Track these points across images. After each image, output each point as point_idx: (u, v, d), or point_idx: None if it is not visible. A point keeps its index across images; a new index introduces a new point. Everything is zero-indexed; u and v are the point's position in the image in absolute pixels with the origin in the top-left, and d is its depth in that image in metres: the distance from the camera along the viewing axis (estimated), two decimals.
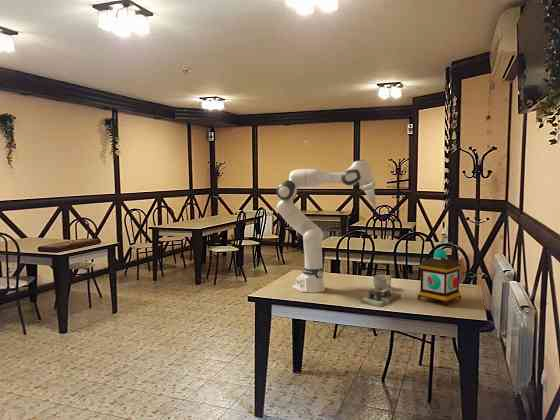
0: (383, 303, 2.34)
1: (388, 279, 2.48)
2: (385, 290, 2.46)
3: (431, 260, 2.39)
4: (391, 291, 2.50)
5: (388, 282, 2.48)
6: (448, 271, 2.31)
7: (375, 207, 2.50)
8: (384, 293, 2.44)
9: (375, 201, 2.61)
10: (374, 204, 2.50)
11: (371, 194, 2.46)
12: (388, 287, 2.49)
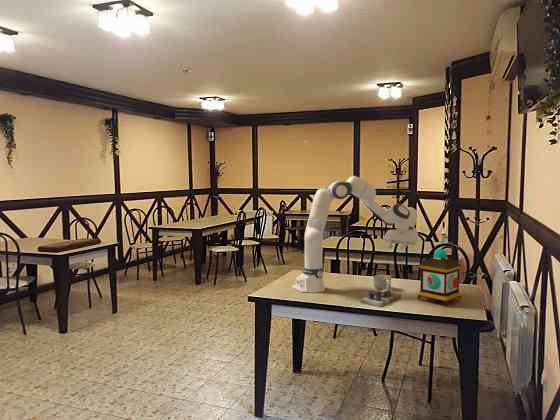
0: (383, 303, 2.34)
1: (388, 279, 2.48)
2: (385, 290, 2.46)
3: (431, 260, 2.39)
4: (391, 291, 2.50)
5: (388, 282, 2.48)
6: (448, 271, 2.31)
7: (403, 248, 2.54)
8: (384, 293, 2.44)
9: None
10: (404, 246, 2.54)
11: (416, 239, 2.54)
12: (388, 287, 2.49)
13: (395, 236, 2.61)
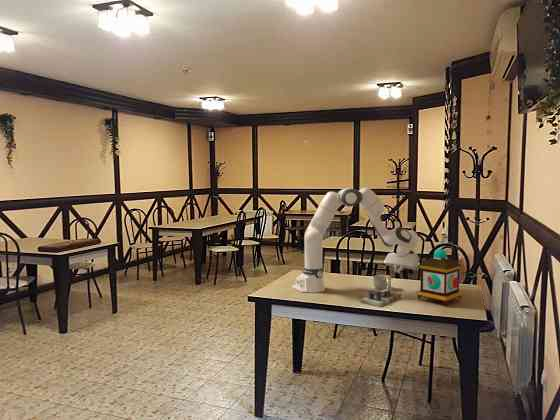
0: (383, 303, 2.34)
1: (388, 279, 2.48)
2: (385, 290, 2.46)
3: (431, 260, 2.39)
4: (391, 291, 2.50)
5: (388, 282, 2.48)
6: (448, 271, 2.31)
7: (398, 272, 2.55)
8: (384, 293, 2.44)
9: None
10: (400, 269, 2.56)
11: (416, 263, 2.54)
12: (388, 287, 2.49)
13: (396, 260, 2.60)
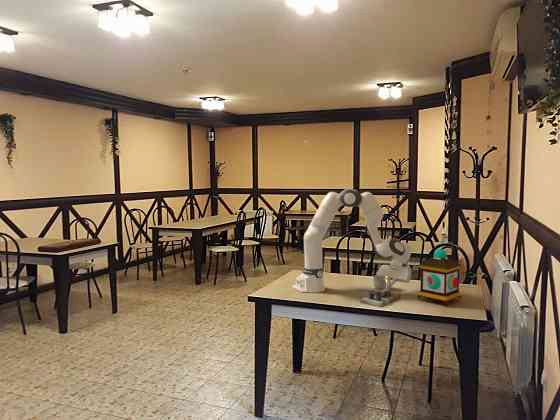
0: (383, 303, 2.34)
1: (387, 279, 2.47)
2: (384, 290, 2.46)
3: (431, 260, 2.39)
4: (390, 291, 2.49)
5: (387, 282, 2.48)
6: (448, 271, 2.31)
7: (391, 285, 2.50)
8: (383, 293, 2.43)
9: None
10: (393, 283, 2.50)
11: (409, 277, 2.48)
12: (387, 287, 2.48)
13: (388, 273, 2.54)
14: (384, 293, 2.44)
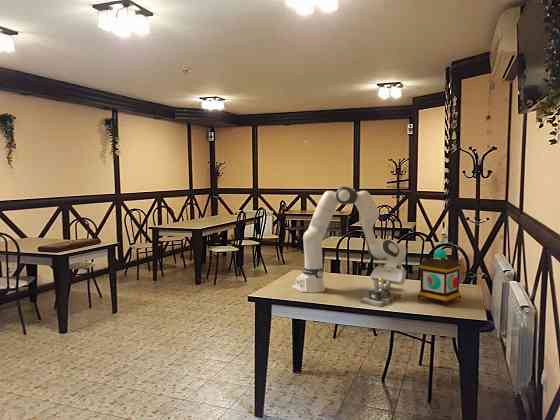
0: (383, 303, 2.34)
1: (381, 282, 2.42)
2: None
3: (431, 260, 2.39)
4: (384, 294, 2.44)
5: (381, 285, 2.42)
6: (448, 271, 2.31)
7: (385, 287, 2.44)
8: None
9: None
10: (387, 285, 2.45)
11: (404, 279, 2.43)
12: (381, 290, 2.43)
13: (382, 275, 2.49)
14: None
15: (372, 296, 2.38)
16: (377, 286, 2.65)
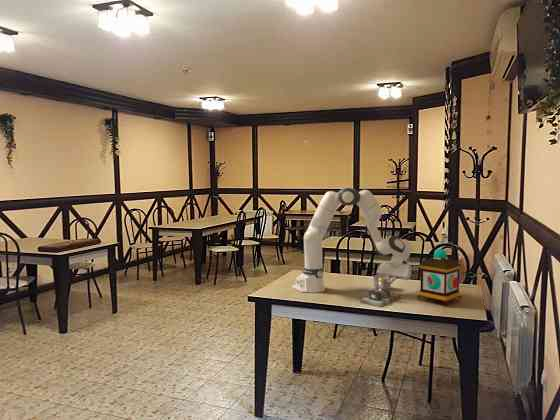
0: (383, 303, 2.34)
1: (380, 282, 2.42)
2: None
3: (431, 260, 2.39)
4: (384, 294, 2.44)
5: (380, 285, 2.42)
6: (448, 271, 2.31)
7: (391, 282, 2.49)
8: None
9: None
10: (393, 280, 2.50)
11: (410, 274, 2.47)
12: (381, 290, 2.42)
13: (388, 270, 2.54)
14: None
15: (372, 296, 2.38)
16: (377, 286, 2.65)
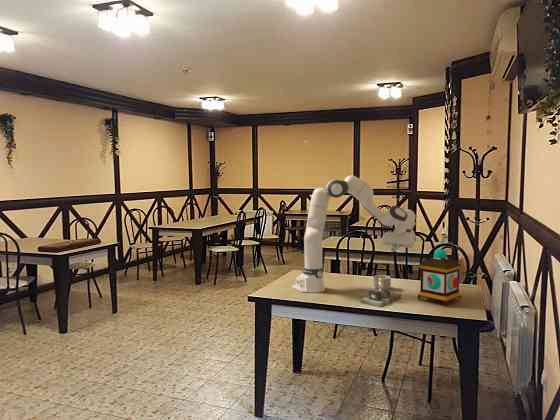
0: (383, 303, 2.34)
1: (380, 282, 2.42)
2: None
3: (431, 260, 2.39)
4: (384, 294, 2.44)
5: (380, 285, 2.42)
6: (448, 271, 2.31)
7: (395, 250, 2.51)
8: None
9: None
10: (397, 248, 2.52)
11: (414, 242, 2.49)
12: (381, 290, 2.42)
13: (392, 239, 2.56)
14: None
15: (372, 296, 2.38)
16: (377, 286, 2.65)
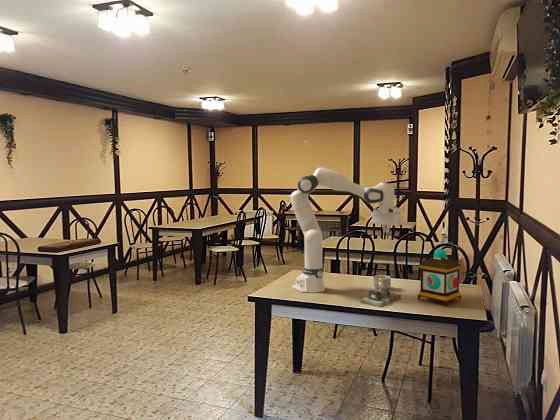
0: (383, 303, 2.34)
1: (380, 282, 2.42)
2: None
3: (431, 260, 2.39)
4: (384, 294, 2.44)
5: (380, 285, 2.42)
6: (448, 271, 2.31)
7: (388, 231, 2.56)
8: None
9: None
10: (388, 228, 2.56)
11: (400, 219, 2.49)
12: (381, 290, 2.42)
13: (381, 219, 2.58)
14: None
15: (372, 296, 2.38)
16: (377, 286, 2.65)
